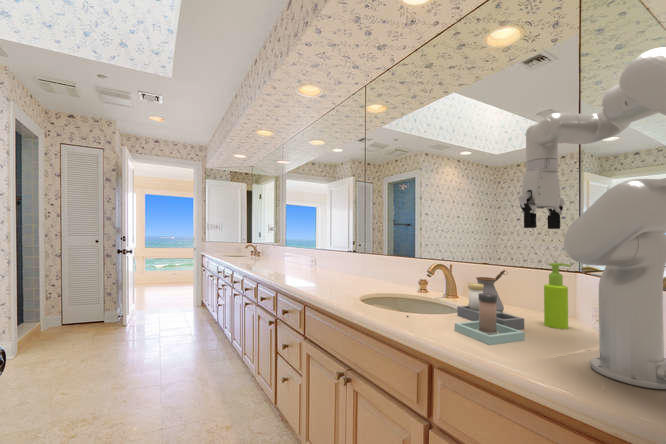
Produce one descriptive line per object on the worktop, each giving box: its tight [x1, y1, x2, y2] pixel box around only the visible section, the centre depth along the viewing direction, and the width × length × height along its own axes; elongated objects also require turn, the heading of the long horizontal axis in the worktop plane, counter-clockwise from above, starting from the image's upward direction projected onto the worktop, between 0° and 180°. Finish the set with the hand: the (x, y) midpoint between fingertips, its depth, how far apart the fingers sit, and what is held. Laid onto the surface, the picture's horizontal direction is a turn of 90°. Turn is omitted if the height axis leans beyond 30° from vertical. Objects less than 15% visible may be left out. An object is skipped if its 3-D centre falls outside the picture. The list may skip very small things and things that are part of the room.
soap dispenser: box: [543, 262, 572, 330], centre depth 94 cm, size 6×7×20 cm
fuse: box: [467, 282, 484, 311], centre depth 102 cm, size 5×5×11 cm
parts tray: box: [454, 321, 526, 346], centre depth 84 cm, size 12×12×3 cm
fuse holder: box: [456, 305, 525, 331], centre depth 97 cm, size 18×8×4 cm, turn 21°
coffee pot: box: [467, 269, 509, 313], centre depth 114 cm, size 21×12×15 cm, turn 128°
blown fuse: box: [477, 293, 498, 335], centre depth 84 cm, size 5×5×11 cm
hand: (542, 228), depth 87 cm, fingers open, 9 cm apart
